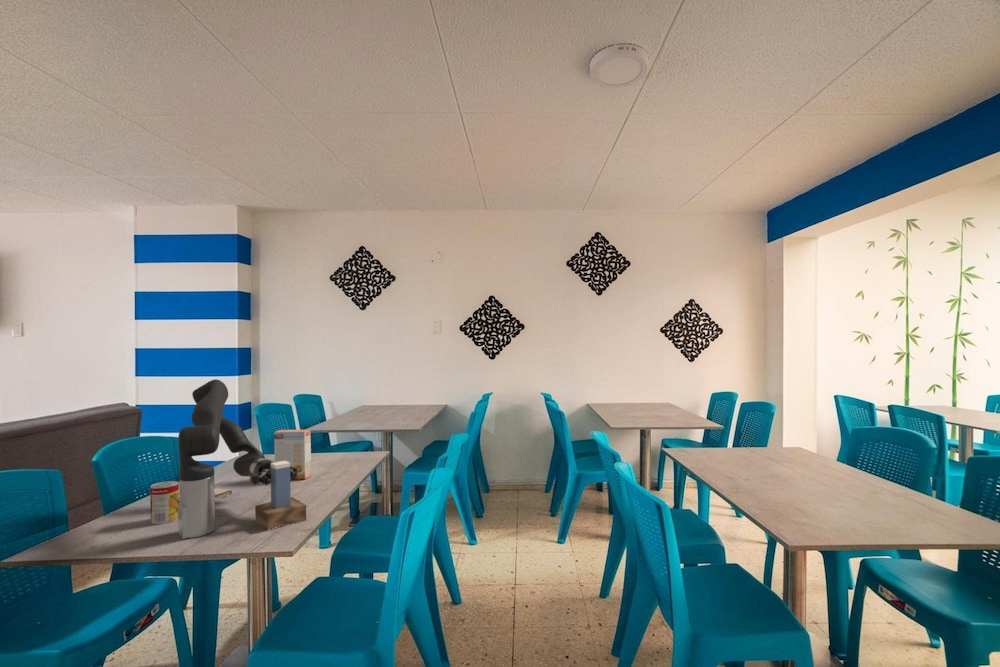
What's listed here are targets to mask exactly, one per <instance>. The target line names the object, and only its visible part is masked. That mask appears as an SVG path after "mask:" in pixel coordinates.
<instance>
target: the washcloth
mask: <svg viewBox="0 0 1000 667" xmlns="http://www.w3.org/2000/svg"><path fill="white" fill-rule="evenodd" d="M230 494H231V495H232V494H233V490H231V489H220V488H215V487H214V500H215V499H218V498H221V497H224V496H227V495H230ZM231 495H230V496H231ZM227 497H228V496H227ZM224 498H225V497H224ZM221 499H222V498H221ZM218 500H219V499H218ZM179 503H180V496H179Z"/></svg>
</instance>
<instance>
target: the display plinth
mask: <svg viewBox="0 0 1000 667" xmlns="http://www.w3.org/2000/svg"><path fill="white" fill-rule="evenodd" d="M290 497H291V496H290ZM254 508H255V518H254V519H255V520H256V521H257V522H256V521H255V522H256V523H258V522H259V523H260V524H261V525H260V524H259V523H258V524H259V525H260V526H262V525H263V526H264V527H265V528H264V527H263V526H262V527H263V528H264V529H266V528H267V529H272V528H275V527H279V526H283V525H287V524H290V525H293V524H292V523H294V524H297V523H300V521H301V522H305V521H307V504H305V503H303V502H301V501H300V500H298V499H297V498H295V497H291V505H289V506H285V507H281V508H277V509H276V508H274V507H273V506H271V501H270V502H265V503H262V504H257V505H255V507H254ZM304 520H305V521H304ZM296 522H297V523H296ZM287 526H288V525H287ZM283 527H284V526H283ZM279 528H280V527H279ZM267 529H266V530H267ZM272 530H273V529H272Z"/></svg>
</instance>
